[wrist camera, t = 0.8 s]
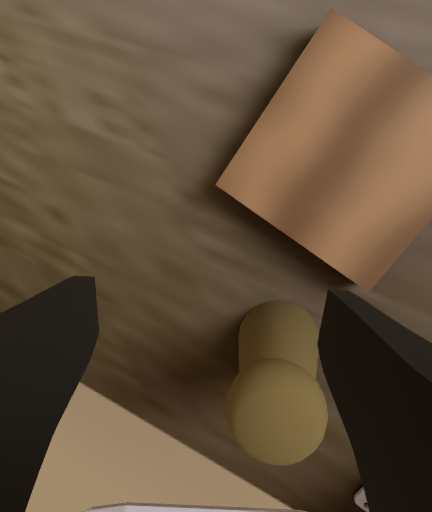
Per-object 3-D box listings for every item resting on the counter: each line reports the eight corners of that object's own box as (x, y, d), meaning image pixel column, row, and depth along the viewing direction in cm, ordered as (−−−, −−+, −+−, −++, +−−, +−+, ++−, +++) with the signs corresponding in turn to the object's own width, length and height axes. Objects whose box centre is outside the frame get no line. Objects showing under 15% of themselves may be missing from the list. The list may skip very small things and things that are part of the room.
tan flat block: (485, 132, 24) (508, 127, 21) (360, 282, 27) (368, 292, 24) (326, 25, 24) (331, 8, 22) (221, 184, 27) (215, 184, 25)
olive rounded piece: (332, 317, 28) (362, 401, 17) (303, 388, 29) (313, 507, 18) (252, 289, 28) (233, 353, 18) (228, 360, 30) (196, 459, 19)
